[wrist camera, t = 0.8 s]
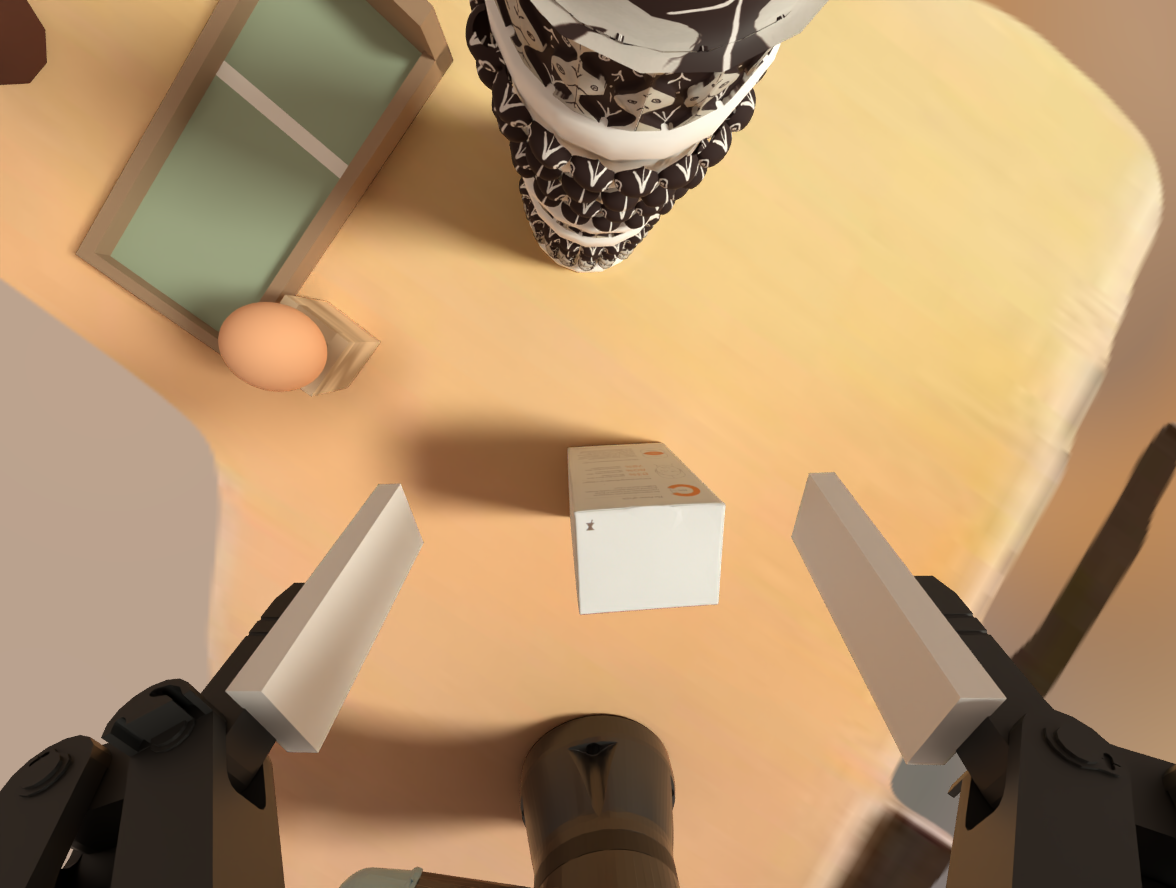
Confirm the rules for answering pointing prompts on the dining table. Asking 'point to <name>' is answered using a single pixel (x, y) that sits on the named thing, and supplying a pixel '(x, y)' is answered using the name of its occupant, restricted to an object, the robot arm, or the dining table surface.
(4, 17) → the ice cream bowl
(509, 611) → the dining table surface
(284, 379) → the ball
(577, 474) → the small box
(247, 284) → the tray
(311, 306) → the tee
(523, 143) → the decorative candle
